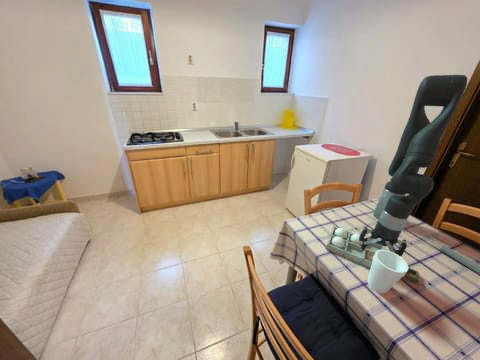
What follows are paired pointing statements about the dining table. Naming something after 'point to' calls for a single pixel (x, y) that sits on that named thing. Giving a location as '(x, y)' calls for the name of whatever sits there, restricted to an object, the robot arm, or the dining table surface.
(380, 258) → the foam cup
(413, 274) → the egg stand
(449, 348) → the dining table surface
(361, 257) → the egg carton
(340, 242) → the cream egg
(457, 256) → the kitchen whisk
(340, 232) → the cream egg
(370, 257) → the beige sphere
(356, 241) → the cream egg
